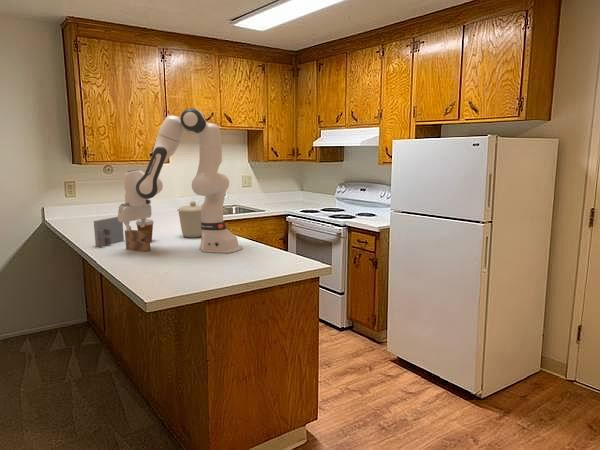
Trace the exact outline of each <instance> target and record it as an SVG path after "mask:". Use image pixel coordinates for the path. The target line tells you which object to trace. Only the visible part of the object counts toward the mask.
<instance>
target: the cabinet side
mask: <svg viewBox="0 0 600 450" xmlns="http://www.w3.org/2000/svg"><path fill="white" fill-rule="evenodd" d="M93 228H94V229H93V232H94V242H95V248H100V247H104V246H108V245H109V246H110V245H112V244H116V243H117V244H118V243H121V242H124V241H125V234H124V224H123V222H119V221H118V216H114V217H109V218H108V217H107V218H103V219H96V220H93Z"/></svg>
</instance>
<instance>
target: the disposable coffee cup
mask: <svg viewBox="0 0 600 450" xmlns="http://www.w3.org/2000/svg"><path fill="white" fill-rule="evenodd" d="M135 221H136V222H135V225H136V227H137V230H138V231H149V234H150V243H151V242H153V231H154V230H153V229H154V228H153V227H154V224H155V223H154V220H153V219H148V218H146V221H145V224H144V225H145V226H144V227H140V224H141V221H142V220H141V219H139V220H135Z"/></svg>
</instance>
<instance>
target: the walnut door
mask: <svg viewBox="0 0 600 450" xmlns="http://www.w3.org/2000/svg"><path fill="white" fill-rule="evenodd" d="M124 241H125V249H126V250H130V251H137V252H138V251H139V252H150V251H151V242H150V234H149V231H138V229H137V230H136V229H131V230H127V229H125V230H124Z"/></svg>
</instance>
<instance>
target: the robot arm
mask: <svg viewBox="0 0 600 450" xmlns="http://www.w3.org/2000/svg"><path fill="white" fill-rule="evenodd" d="M206 119H207V118H206V116H205V115H204V114H203V112H201V111H200V109H197V108H194V107H190V108H186V109H184V110H183V111H182V113H181V114H180V116H176V115H167V116H166V117H165V118H164V120H163V121H162V124H161V126H160V128H159V130H158V133H157V136H156V138H155V143H154V146H153V150H152V155H151V157H150V160H149V162H148V165H147V166H146V170H145V172H144V171H142V170H141V169H133V170H131V169H130V170H128V171H127V172H125V174H124V185H123V186H124V191H125V193H124V201H125V203H121V204H120V205H119V206H118V211H117V217H118V221H119V222H123V223H124V224H123V225H125V227H126V229H125V230H132V226H130V223H131V222H133V221H137V220H142V221H141V224H140V227H144V226H145V225H144V224H145V221H146V219H148V218H151V217H152V205H151V203H152V200H151V199H152V198H154V197H155V196H156V195H159V194H160V192H162V190H163V187H164V185H163V181H162V180H161V179H160V178H159V176H160V173H161V171H162V168H163V166H164V164H165V162H166V161H168V160H169V158H171V157H172V156H173V155H175V153H176V151H177V149H178V147H179V146H180V142H181V140H182V138H183V135H184V134H185V132H193V133H196V134H197V135H198V138H199V160H198V167H197V171H196V174H195V177H194V178H193V179H192V182H191V189H192V191H193V193H194V194H195V195H197V196H201V197H204V200H203V203H202V204H201V218H202V222H201V231H202V237H200V239H201V240H200V245H199V250H200V251H201V252H203V253H219V254H220V253H221V254H222V253H223V254H231V253H236V252H238V251H241V250H243V248H244V247H243V245H239V241H238V237H237V236H236V235H235V234H234V233H232V232H231V231H230V230H229V229H228V228H227V226H228V224H229V223H228V222H225V221H224V202H225V197H226V193H227V190H228V189H229V187H230V180H229V178H228V176H227V175H225V173H224V174H223V173H221V172H219V167H220V165H221V164H222V162H223V156H222V155H223V154H222V153H223V150H222V149H223V148H222V147H223V144H222V133H221V128H220V126H218V125H217V124H215V123H213V122H211V123H210V122H207V120H206Z"/></svg>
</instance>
